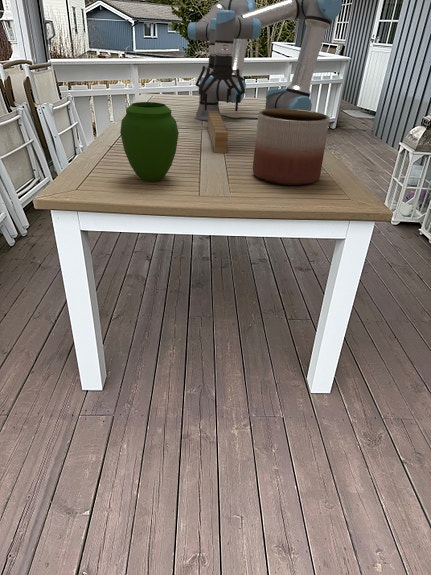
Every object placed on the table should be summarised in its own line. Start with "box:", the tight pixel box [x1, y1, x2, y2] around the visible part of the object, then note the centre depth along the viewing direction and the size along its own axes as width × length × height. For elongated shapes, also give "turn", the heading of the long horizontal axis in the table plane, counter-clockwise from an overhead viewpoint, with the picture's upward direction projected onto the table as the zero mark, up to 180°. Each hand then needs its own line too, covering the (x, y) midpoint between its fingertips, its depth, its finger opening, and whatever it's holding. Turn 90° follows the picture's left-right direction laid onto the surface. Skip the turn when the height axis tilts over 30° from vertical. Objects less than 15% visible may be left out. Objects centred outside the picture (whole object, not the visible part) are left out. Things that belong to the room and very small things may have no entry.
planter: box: [252, 109, 331, 186], centre depth 150 cm, size 25×25×22 cm
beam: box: [207, 111, 229, 154], centre depth 203 cm, size 54×6×9 cm, turn 4°
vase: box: [119, 101, 179, 182], centre depth 140 cm, size 20×20×24 cm
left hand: (214, 102), depth 213 cm, fingers open, 13 cm apart
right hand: (221, 110), depth 180 cm, fingers open, 13 cm apart
